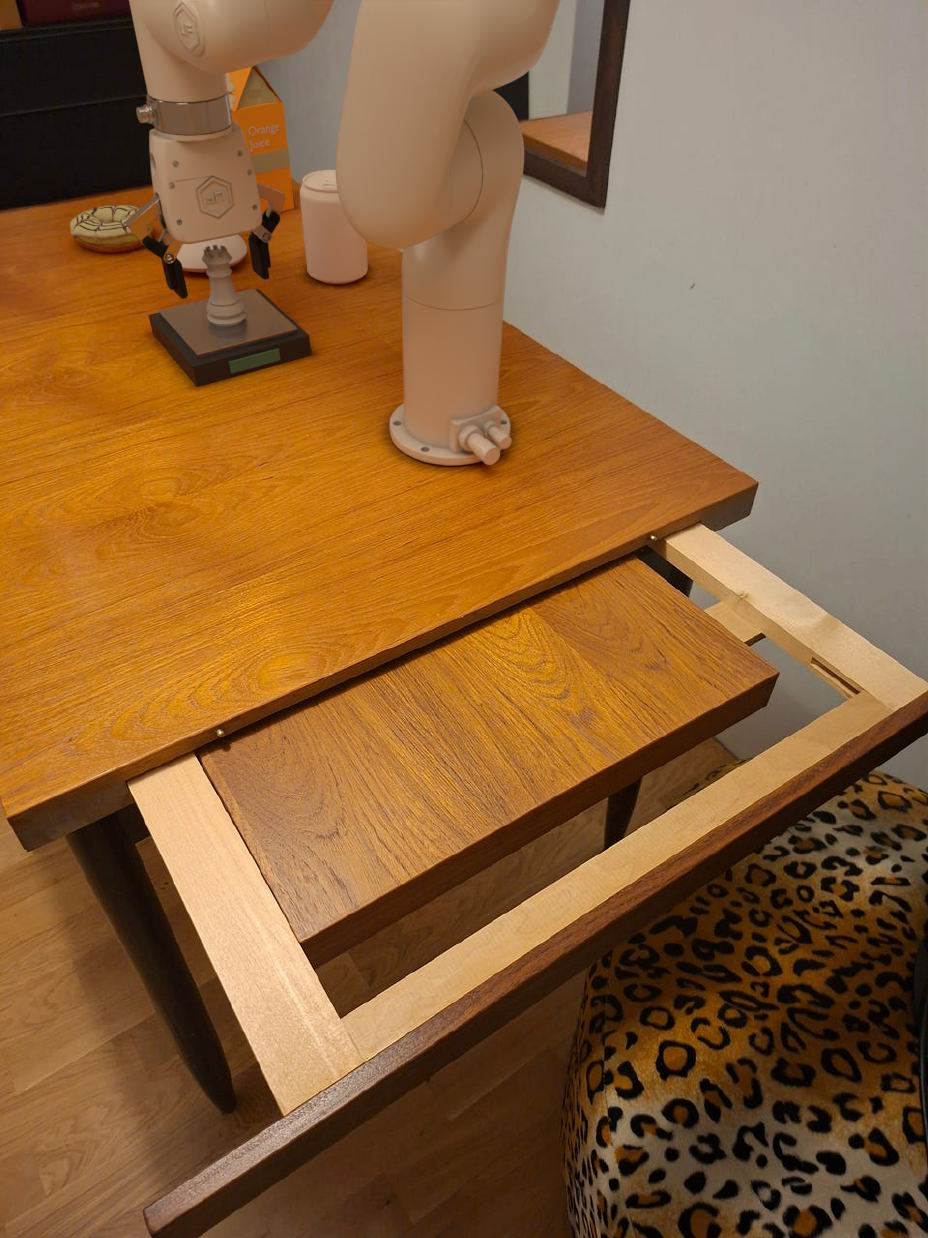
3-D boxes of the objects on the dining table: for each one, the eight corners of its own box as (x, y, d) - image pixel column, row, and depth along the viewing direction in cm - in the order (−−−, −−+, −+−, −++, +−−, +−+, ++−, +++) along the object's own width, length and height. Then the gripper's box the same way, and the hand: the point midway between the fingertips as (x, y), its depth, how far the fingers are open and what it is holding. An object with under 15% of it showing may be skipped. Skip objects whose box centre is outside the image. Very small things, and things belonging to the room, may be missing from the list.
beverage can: (372, 263, 120) (368, 170, 111) (362, 289, 114) (357, 193, 105) (315, 259, 120) (306, 166, 112) (301, 284, 114) (291, 188, 106)
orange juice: (265, 191, 138) (246, 43, 124) (295, 208, 133) (279, 56, 119) (221, 201, 134) (196, 50, 120) (250, 219, 129) (228, 64, 115)
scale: (312, 355, 101) (310, 335, 99) (197, 387, 95) (193, 367, 94) (261, 307, 109) (258, 288, 108) (152, 334, 104) (148, 314, 102)
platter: (297, 333, 100) (297, 327, 99) (198, 359, 95) (196, 354, 94) (254, 293, 107) (253, 287, 106) (159, 315, 102) (158, 310, 101)
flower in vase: (187, 288, 113) (143, 65, 95) (148, 258, 119) (100, 44, 101) (275, 264, 119) (249, 50, 101) (234, 237, 125) (202, 31, 107)
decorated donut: (94, 224, 126) (87, 197, 124) (165, 229, 126) (160, 202, 123) (63, 253, 119) (54, 224, 116) (139, 258, 118) (132, 230, 116)
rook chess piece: (249, 310, 102) (239, 241, 96) (244, 328, 99) (232, 258, 93) (211, 309, 102) (198, 240, 96) (204, 327, 99) (190, 257, 93)
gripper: (116, 137, 79) (158, 315, 92) (288, 111, 87) (306, 280, 99) (91, 115, 84) (134, 288, 96) (257, 92, 91) (277, 256, 103)
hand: (221, 284), depth 97 cm, fingers open, 9 cm apart
